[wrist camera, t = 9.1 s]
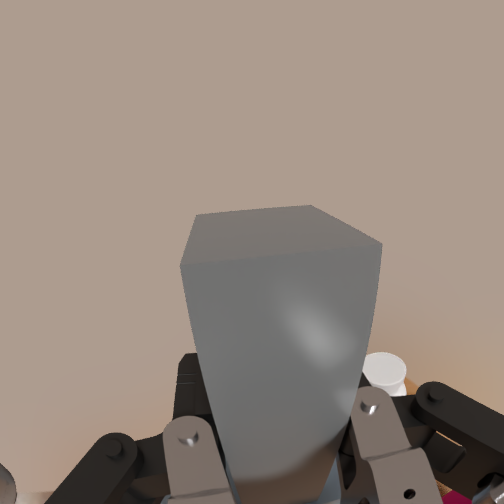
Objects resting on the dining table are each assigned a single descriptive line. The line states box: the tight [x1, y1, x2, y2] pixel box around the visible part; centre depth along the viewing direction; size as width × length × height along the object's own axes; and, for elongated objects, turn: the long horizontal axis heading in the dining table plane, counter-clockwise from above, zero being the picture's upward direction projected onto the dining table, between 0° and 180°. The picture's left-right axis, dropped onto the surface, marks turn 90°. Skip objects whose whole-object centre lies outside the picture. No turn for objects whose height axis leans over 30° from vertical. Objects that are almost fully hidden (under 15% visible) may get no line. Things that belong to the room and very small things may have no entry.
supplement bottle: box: [362, 352, 406, 396], centre depth 24 cm, size 7×7×13 cm
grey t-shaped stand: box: [161, 205, 382, 504], centre depth 8 cm, size 14×4×16 cm, turn 97°
